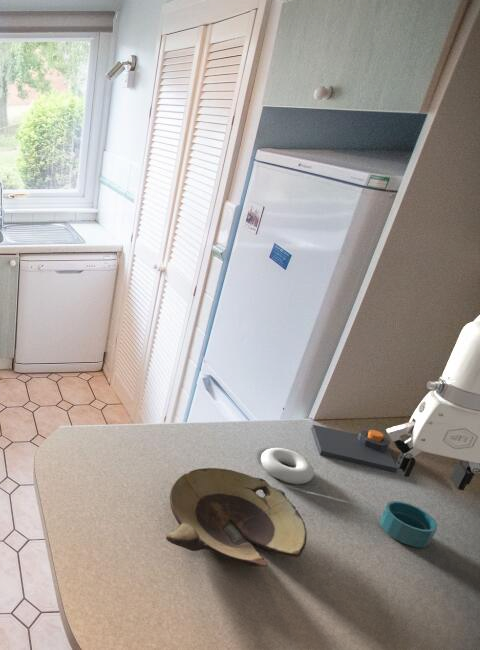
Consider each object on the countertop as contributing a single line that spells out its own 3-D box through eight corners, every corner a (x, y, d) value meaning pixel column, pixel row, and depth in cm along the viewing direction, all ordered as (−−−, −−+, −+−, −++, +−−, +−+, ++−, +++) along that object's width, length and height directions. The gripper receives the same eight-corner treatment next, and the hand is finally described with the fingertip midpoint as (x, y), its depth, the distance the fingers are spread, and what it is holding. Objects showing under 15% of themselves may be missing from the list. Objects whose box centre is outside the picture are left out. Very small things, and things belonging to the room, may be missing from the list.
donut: (275, 451, 109) (249, 464, 105) (279, 439, 108) (253, 452, 103) (321, 478, 101) (295, 493, 96) (325, 465, 99) (299, 480, 95)
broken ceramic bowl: (335, 570, 80) (348, 539, 77) (175, 592, 77) (182, 561, 74) (247, 479, 100) (255, 451, 98) (119, 493, 97) (122, 465, 94)
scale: (381, 443, 110) (385, 433, 109) (397, 473, 101) (401, 463, 100) (310, 428, 116) (314, 418, 115) (319, 455, 107) (323, 445, 106)
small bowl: (420, 525, 88) (428, 508, 86) (434, 554, 82) (444, 537, 81) (373, 513, 91) (381, 496, 89) (385, 540, 85) (393, 523, 84)
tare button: (379, 436, 109) (381, 431, 108) (382, 443, 107) (385, 437, 106) (365, 433, 110) (367, 428, 109) (368, 440, 108) (370, 434, 107)
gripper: (408, 393, 75) (374, 477, 82) (558, 420, 68) (507, 509, 75) (393, 372, 81) (362, 451, 88) (529, 394, 74) (484, 479, 81)
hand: (429, 477), depth 82 cm, fingers open, 6 cm apart
